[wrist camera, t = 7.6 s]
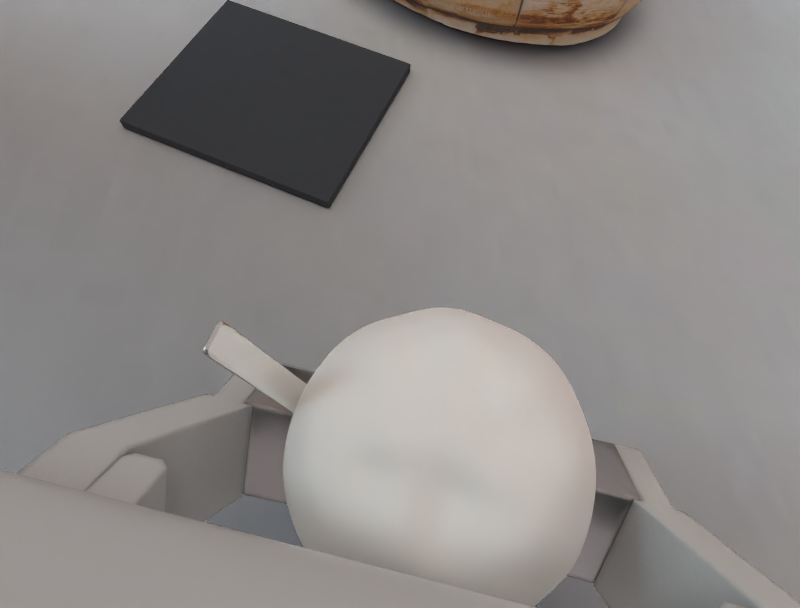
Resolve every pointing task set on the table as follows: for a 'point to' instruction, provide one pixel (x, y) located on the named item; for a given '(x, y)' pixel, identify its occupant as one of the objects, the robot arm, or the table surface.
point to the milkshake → (433, 451)
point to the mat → (271, 101)
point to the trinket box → (527, 18)
